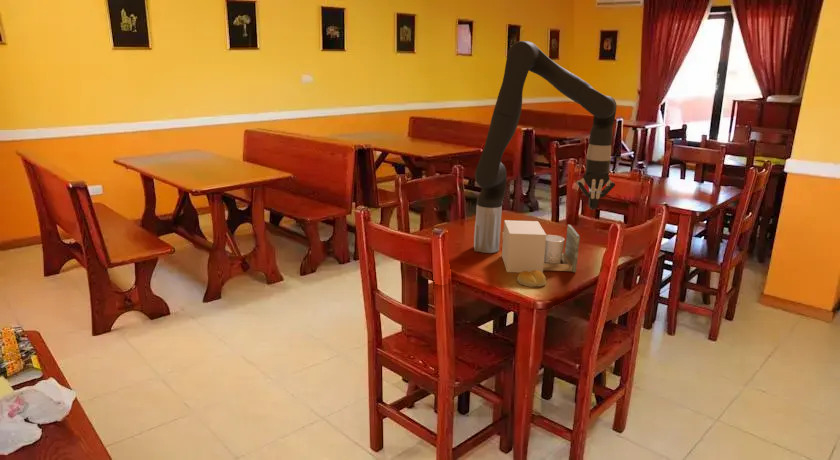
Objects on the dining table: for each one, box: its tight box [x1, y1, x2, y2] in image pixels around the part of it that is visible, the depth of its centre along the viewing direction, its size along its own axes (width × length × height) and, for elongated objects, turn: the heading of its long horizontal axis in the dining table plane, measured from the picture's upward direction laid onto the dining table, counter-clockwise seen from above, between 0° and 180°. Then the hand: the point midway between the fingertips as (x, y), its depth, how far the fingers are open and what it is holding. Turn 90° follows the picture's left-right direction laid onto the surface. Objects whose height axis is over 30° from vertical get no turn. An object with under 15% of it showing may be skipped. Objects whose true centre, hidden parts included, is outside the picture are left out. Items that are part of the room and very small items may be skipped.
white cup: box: [544, 234, 566, 264], centre depth 199 cm, size 8×8×10 cm
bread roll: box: [516, 270, 547, 288], centre depth 184 cm, size 8×9×4 cm
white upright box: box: [501, 219, 547, 274], centre depth 199 cm, size 12×16×14 cm
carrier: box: [543, 224, 581, 273], centre depth 199 cm, size 14×14×13 cm
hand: (592, 208), depth 194 cm, fingers closed
